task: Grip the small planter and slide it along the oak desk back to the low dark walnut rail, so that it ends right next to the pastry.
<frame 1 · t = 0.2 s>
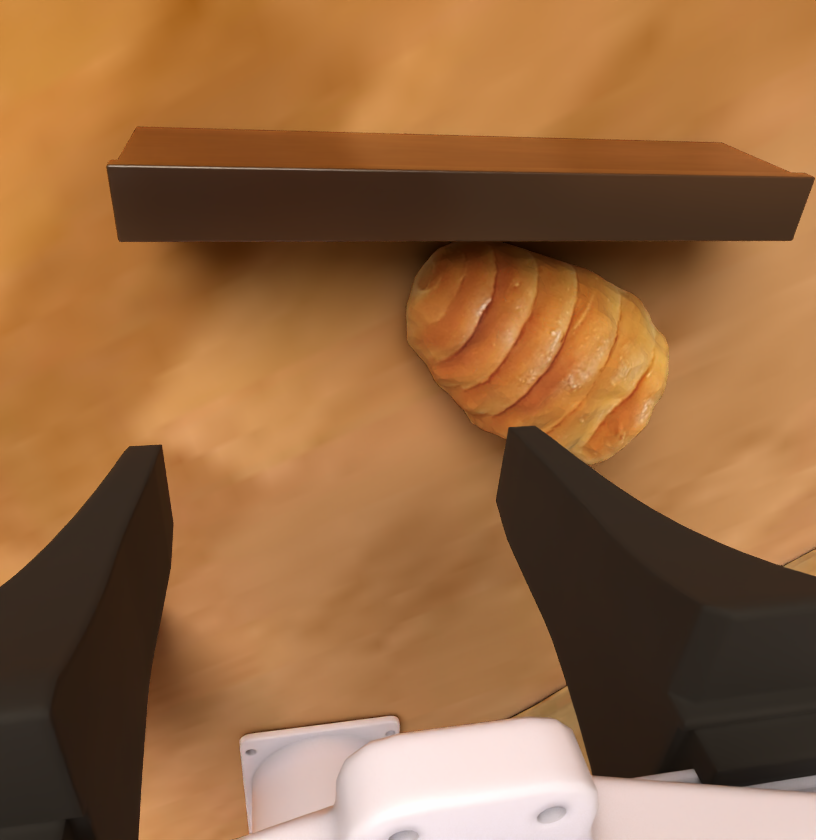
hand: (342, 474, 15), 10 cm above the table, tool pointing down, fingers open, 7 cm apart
pastry: (524, 340, 26), on the table
wall rail: (449, 162, 22), on the table
caddy: (717, 656, 40), on the table
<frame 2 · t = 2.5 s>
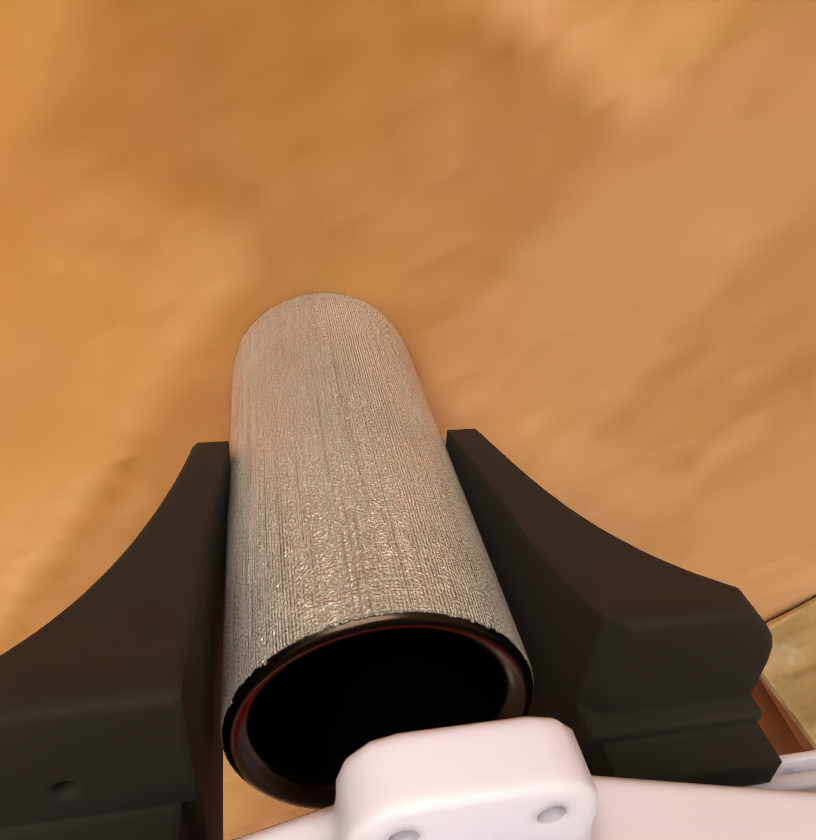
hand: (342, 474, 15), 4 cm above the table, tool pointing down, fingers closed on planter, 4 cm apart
planter: (321, 367, 19), on the table, touching gripper
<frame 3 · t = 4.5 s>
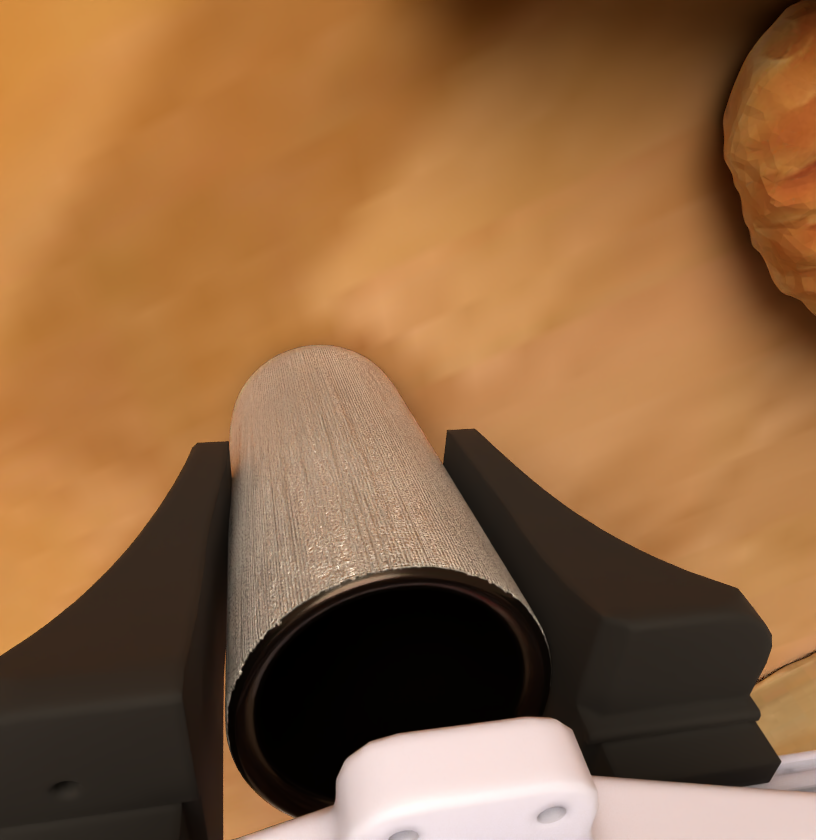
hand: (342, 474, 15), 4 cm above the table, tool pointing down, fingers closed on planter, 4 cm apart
planter: (317, 422, 19), on the table, touching gripper
when the fingers open (4 cm above the table, at t = 6.8 s): planter stays where it is, on the table.
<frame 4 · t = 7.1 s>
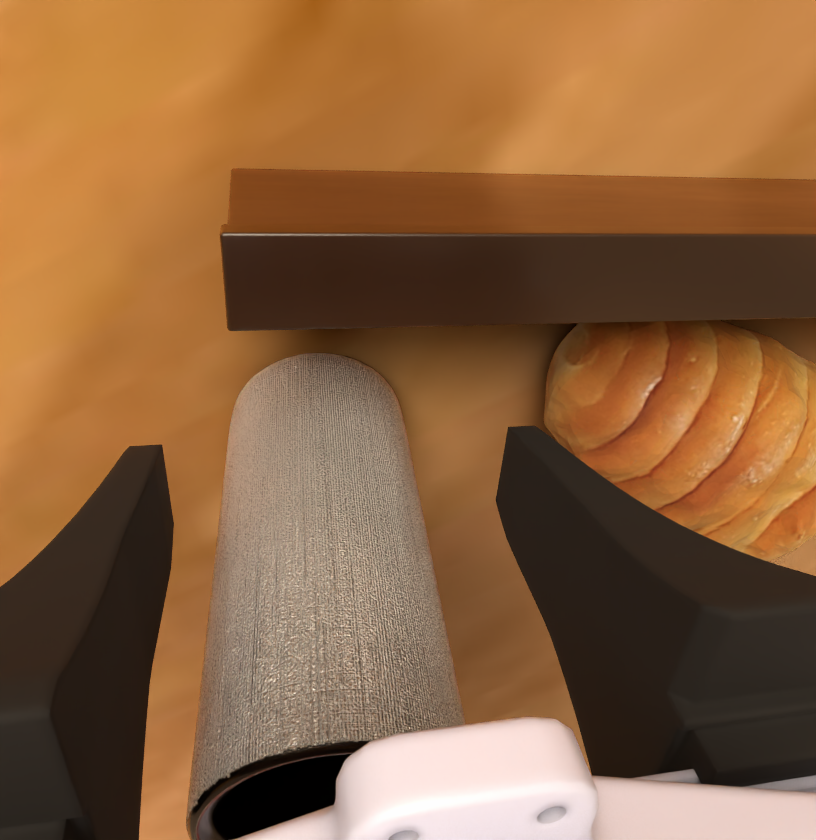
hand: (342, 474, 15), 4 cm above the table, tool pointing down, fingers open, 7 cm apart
pastry: (668, 412, 22), on the table
wall rail: (609, 208, 18), on the table
planter: (317, 417, 19), on the table
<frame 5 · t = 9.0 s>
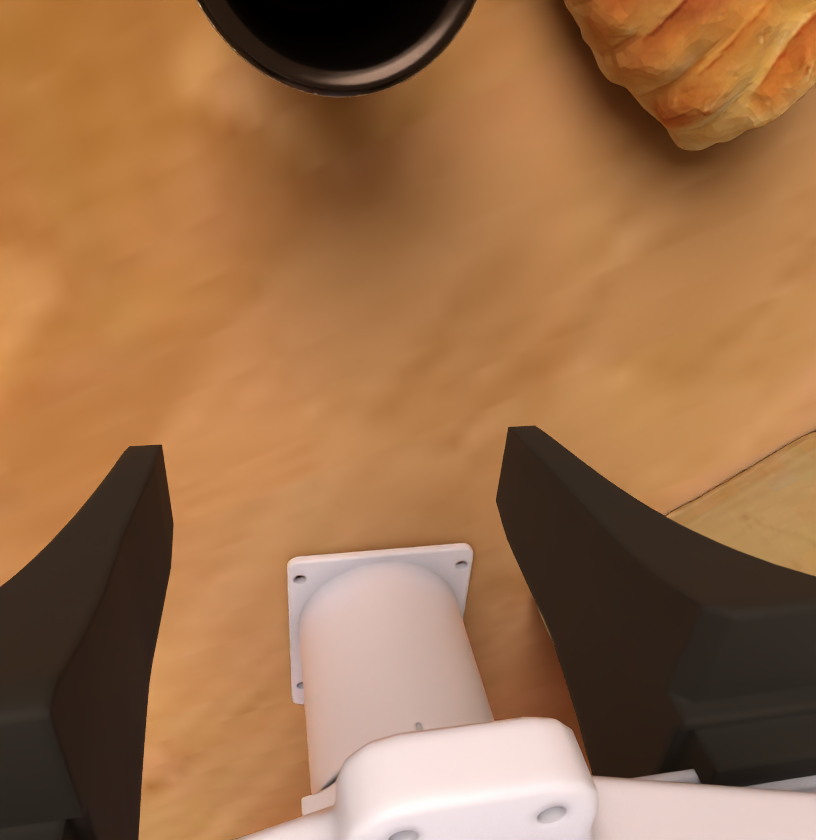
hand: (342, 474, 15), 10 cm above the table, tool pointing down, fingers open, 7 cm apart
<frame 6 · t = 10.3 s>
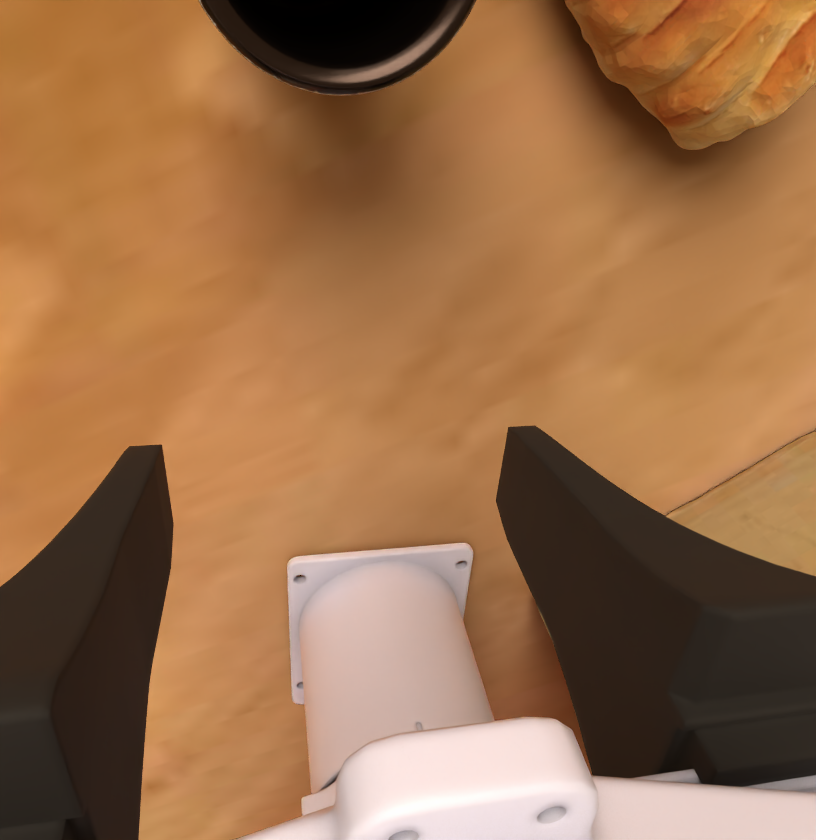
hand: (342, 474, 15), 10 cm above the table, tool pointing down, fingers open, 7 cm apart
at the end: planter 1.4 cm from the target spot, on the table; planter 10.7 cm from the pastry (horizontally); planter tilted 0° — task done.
